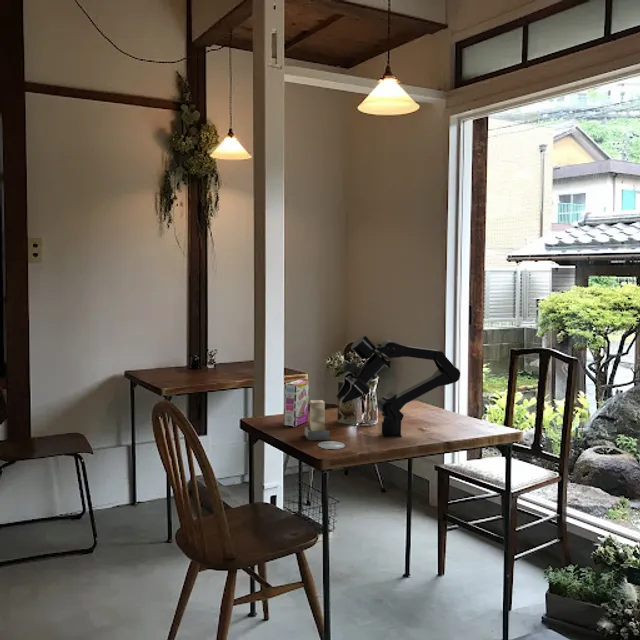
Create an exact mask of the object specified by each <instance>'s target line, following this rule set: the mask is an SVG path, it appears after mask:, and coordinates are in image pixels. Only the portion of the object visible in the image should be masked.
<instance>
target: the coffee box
mask: <svg viewBox="0 0 640 640" xmlns="http://www.w3.org/2000/svg"><path fill="white" fill-rule="evenodd" d="M343 383H344V380H339V381H338V382H337V385H338V386H337V387H338V388H337V393H338V392H339V391H340V389H341V387H342V385H343ZM344 397H345V395H344V396H342V397H340V398H337V421H336V422H337V423H339V424H345V425H351V424H357V422H358V403H359V398H360V397H358V398H356V399H353V400H351V401H348V402H346V403H343V402H342V399H343V398H344Z"/></svg>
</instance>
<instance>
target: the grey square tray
mask: <svg viewBox="0 0 640 640" xmlns="http://www.w3.org/2000/svg"><path fill="white" fill-rule="evenodd" d="M304 436H306V437H305V438H306V440H307V439H308V440H307V441H329V440H330V430H327V426H324V431H310V426H304Z"/></svg>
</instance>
